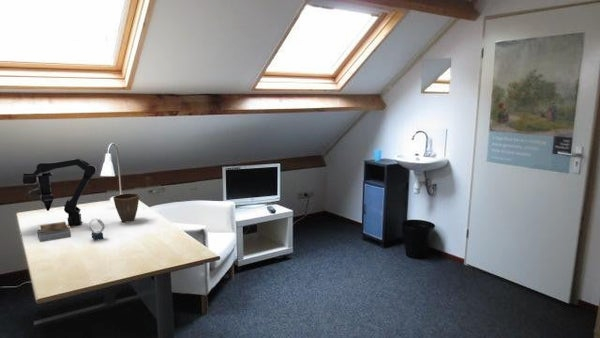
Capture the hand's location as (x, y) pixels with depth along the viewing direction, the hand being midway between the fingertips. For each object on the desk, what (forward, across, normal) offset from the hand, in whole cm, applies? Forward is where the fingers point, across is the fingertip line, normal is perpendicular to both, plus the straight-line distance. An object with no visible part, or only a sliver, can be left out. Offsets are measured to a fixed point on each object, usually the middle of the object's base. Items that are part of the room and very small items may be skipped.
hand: (47, 209), depth 243 cm
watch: (+11, +41, +20) cm, 47 cm away
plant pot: (+11, +14, +42) cm, 45 cm away
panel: (+10, +21, +1) cm, 23 cm away
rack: (+11, +21, +1) cm, 24 cm away
